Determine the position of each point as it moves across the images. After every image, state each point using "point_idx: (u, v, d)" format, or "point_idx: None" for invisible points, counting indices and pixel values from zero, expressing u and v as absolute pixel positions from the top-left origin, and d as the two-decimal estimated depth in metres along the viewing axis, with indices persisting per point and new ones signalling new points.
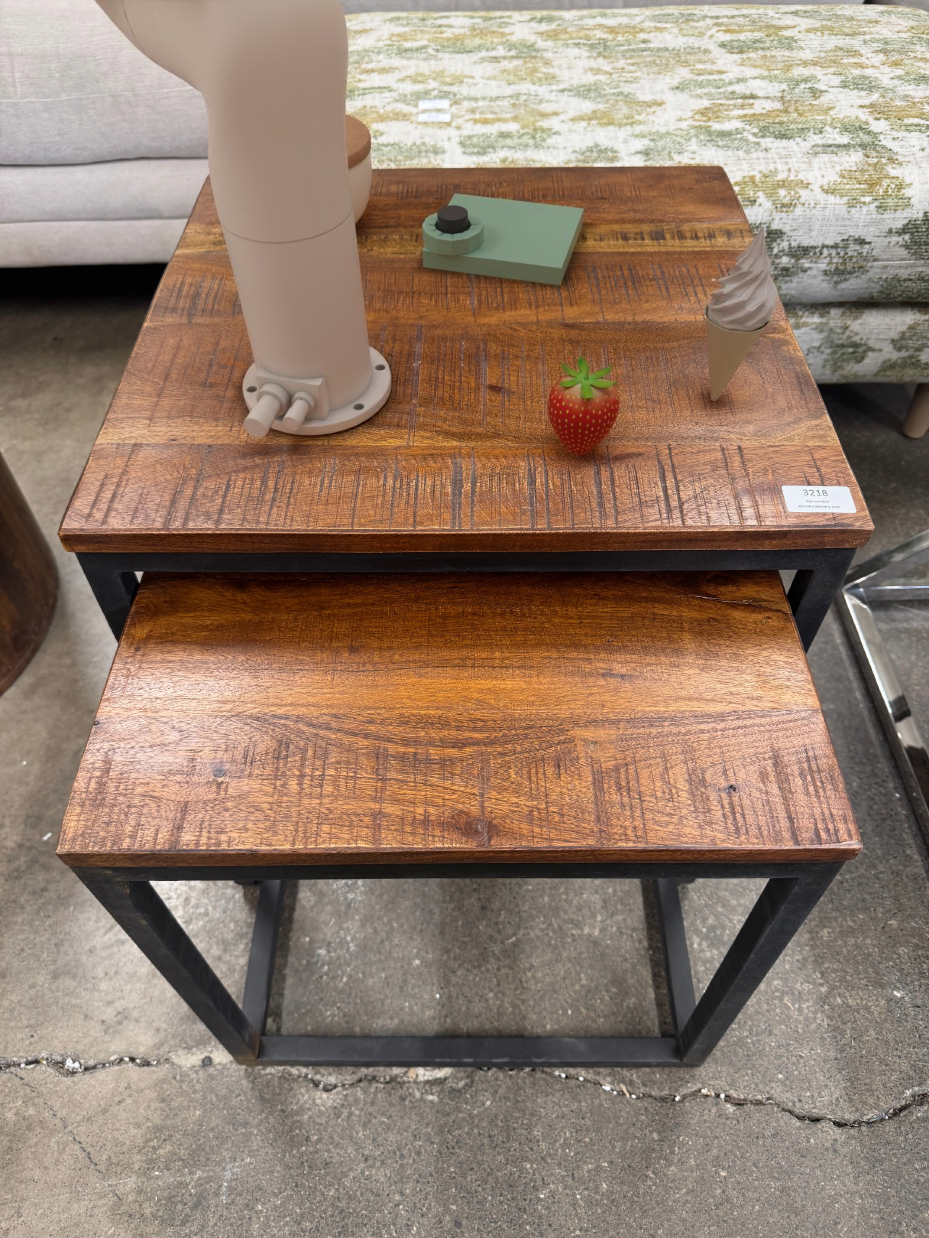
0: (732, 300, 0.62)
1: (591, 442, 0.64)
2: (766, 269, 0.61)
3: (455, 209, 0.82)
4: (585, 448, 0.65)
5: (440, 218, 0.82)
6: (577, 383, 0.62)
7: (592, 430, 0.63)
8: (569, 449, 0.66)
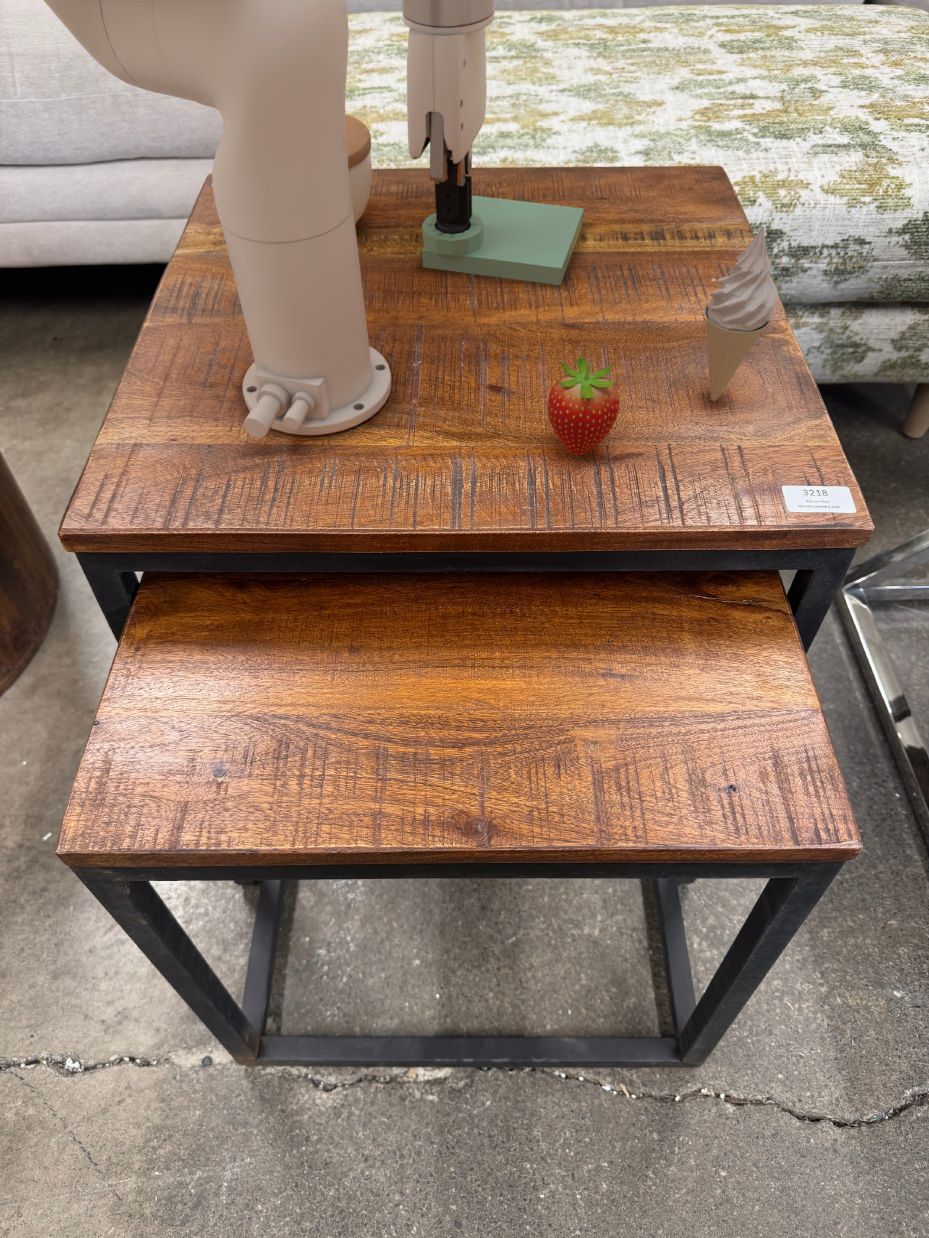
0: (732, 300, 0.62)
1: (591, 442, 0.64)
2: (766, 269, 0.61)
3: None
4: (585, 448, 0.65)
5: (440, 227, 0.82)
6: (577, 383, 0.62)
7: (592, 430, 0.63)
8: (569, 449, 0.66)
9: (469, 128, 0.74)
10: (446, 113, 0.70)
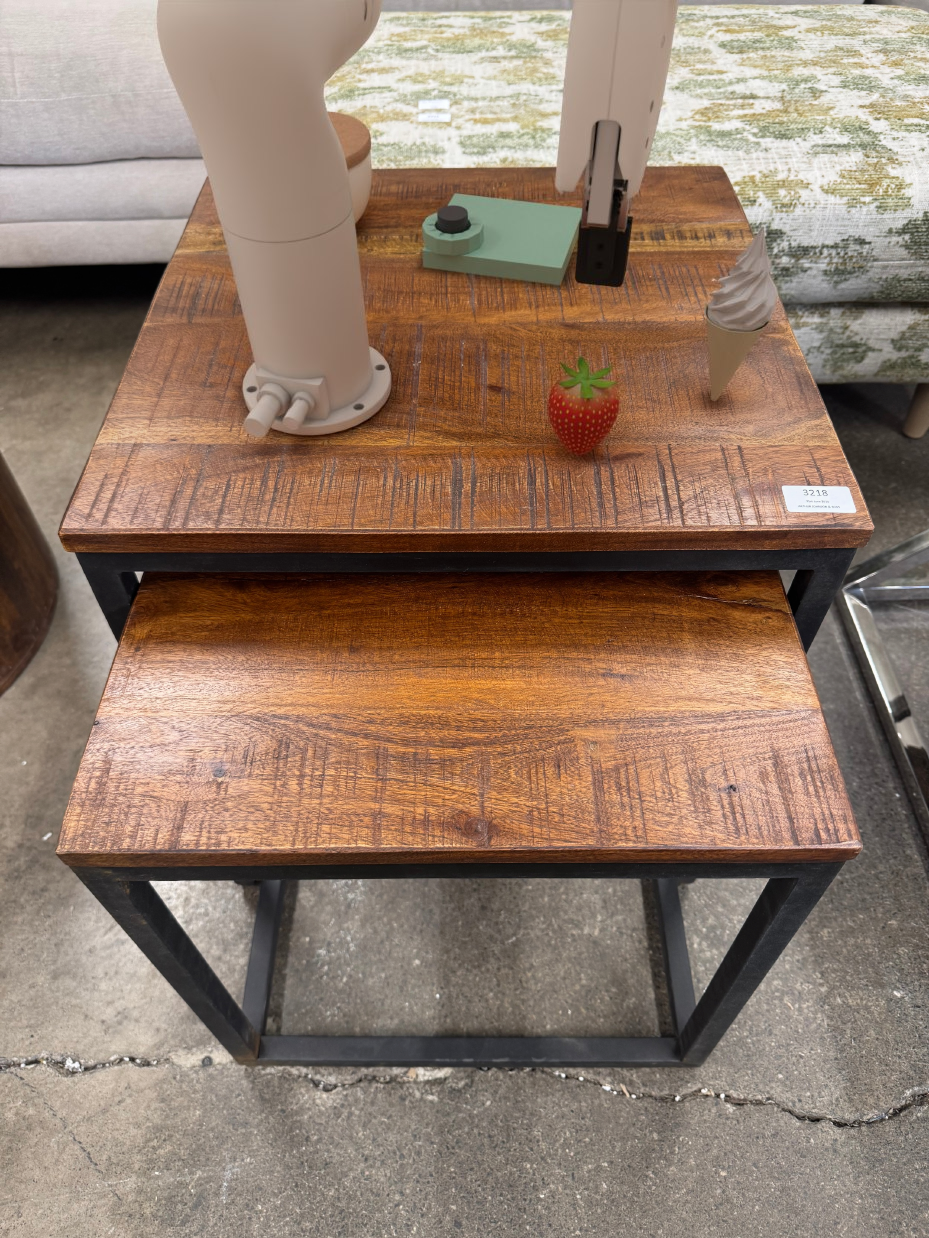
0: (732, 300, 0.62)
1: (591, 442, 0.64)
2: (766, 269, 0.61)
3: (455, 209, 0.82)
4: (585, 448, 0.65)
5: (440, 218, 0.82)
6: (577, 383, 0.62)
7: (592, 430, 0.63)
8: (569, 449, 0.66)
9: (650, 145, 0.47)
10: (627, 122, 0.44)
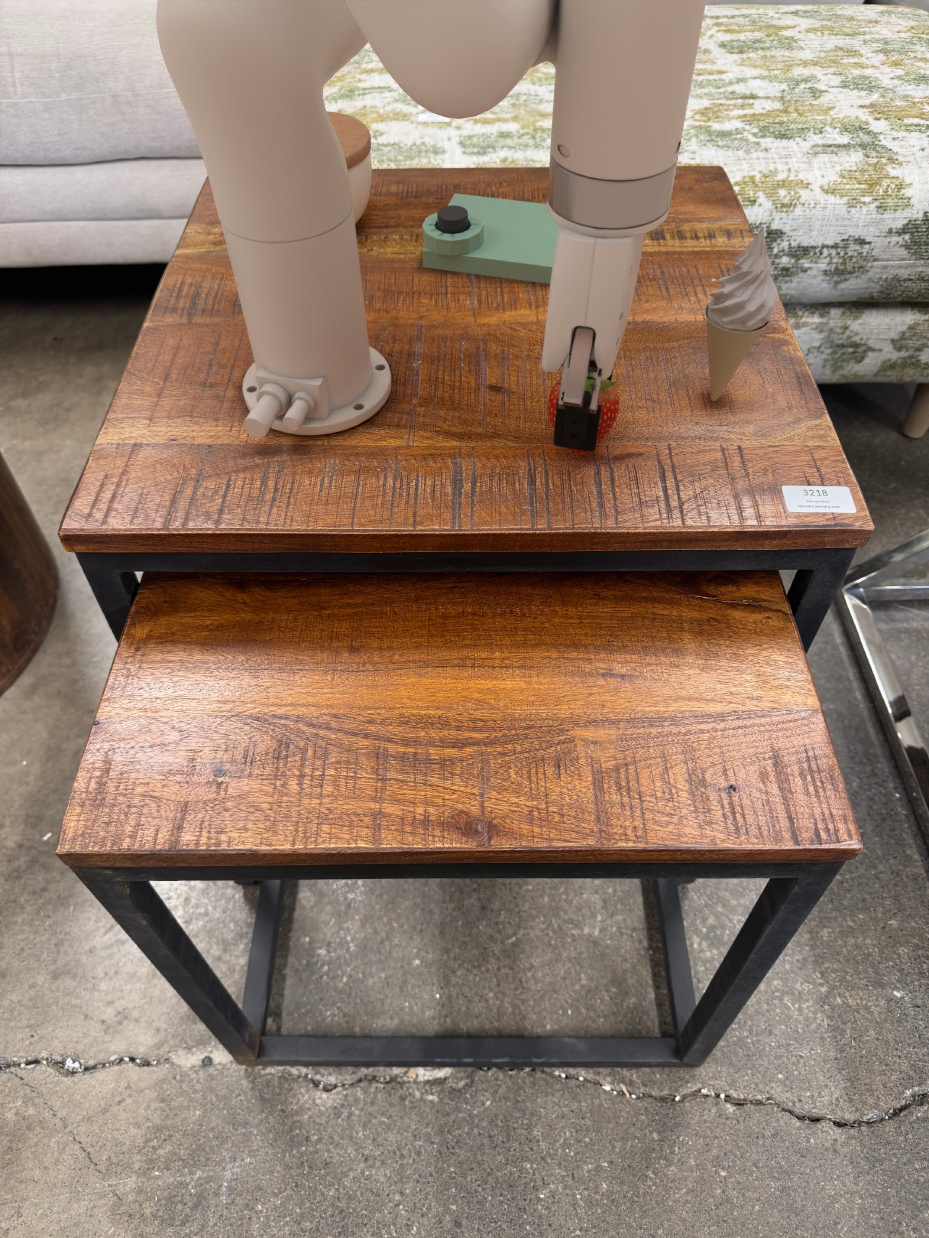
0: (732, 300, 0.62)
1: None
2: (766, 269, 0.61)
3: (455, 209, 0.82)
4: None
5: (440, 218, 0.82)
6: None
7: None
8: (569, 449, 0.66)
9: (622, 337, 0.57)
10: (601, 328, 0.53)
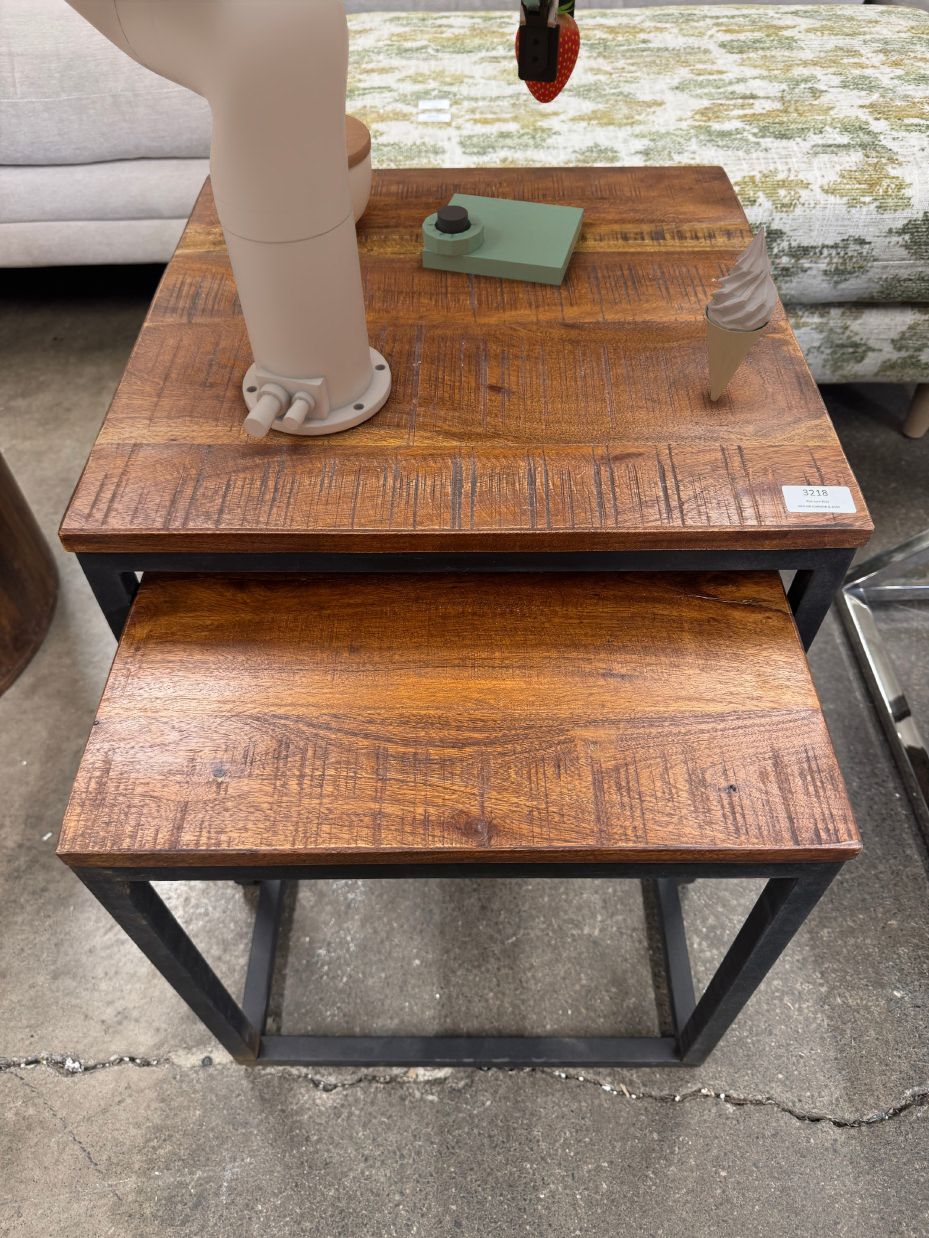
0: (732, 300, 0.62)
1: None
2: (766, 269, 0.61)
3: (455, 209, 0.82)
4: (549, 89, 0.71)
5: (440, 218, 0.82)
6: None
7: None
8: (535, 93, 0.72)
9: None
10: None
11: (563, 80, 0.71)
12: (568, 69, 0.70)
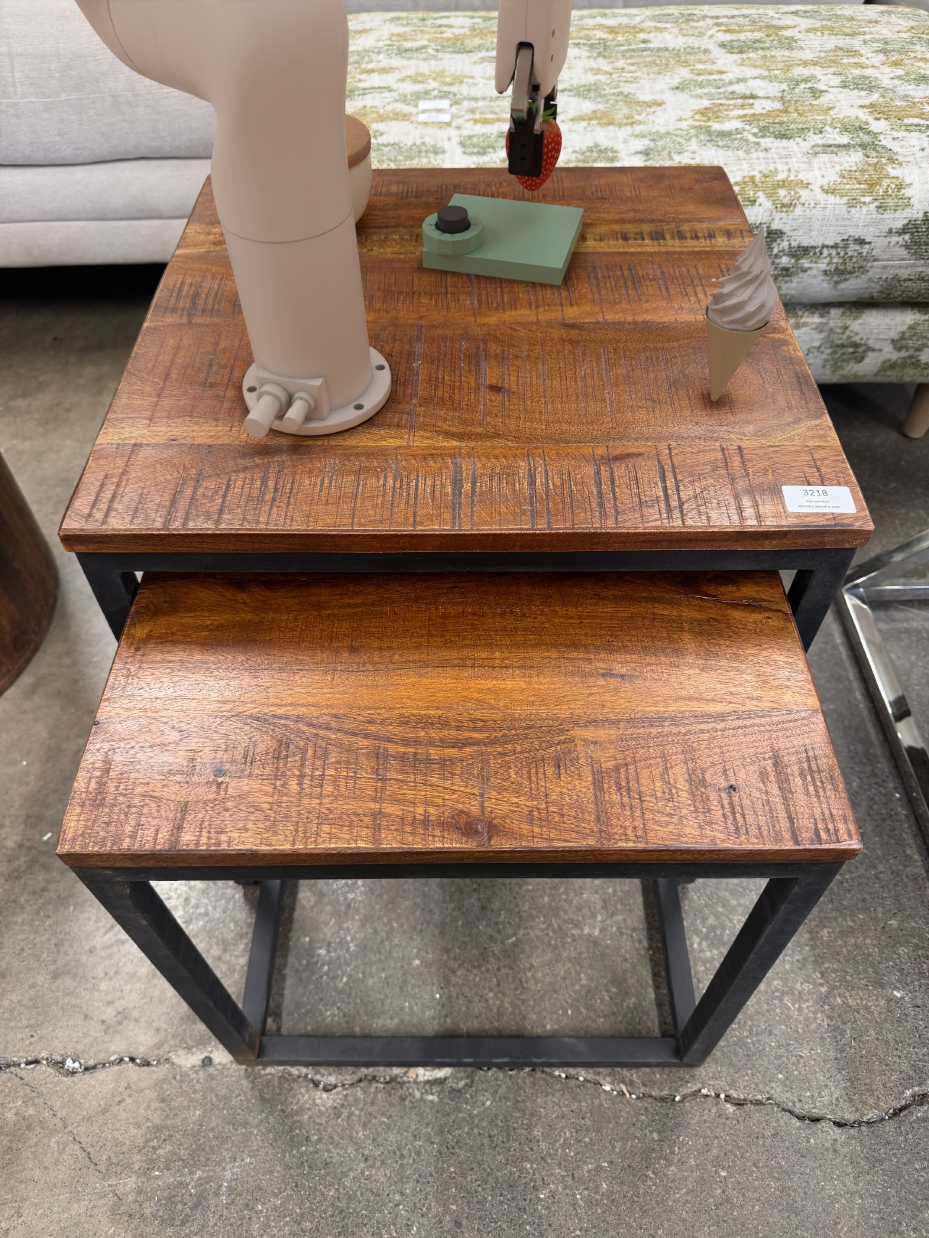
0: (732, 300, 0.62)
1: None
2: (766, 269, 0.61)
3: (455, 209, 0.82)
4: (536, 181, 0.81)
5: (440, 218, 0.82)
6: None
7: None
8: (523, 184, 0.82)
9: (557, 62, 0.73)
10: (537, 43, 0.69)
11: (547, 173, 0.81)
12: (552, 164, 0.80)
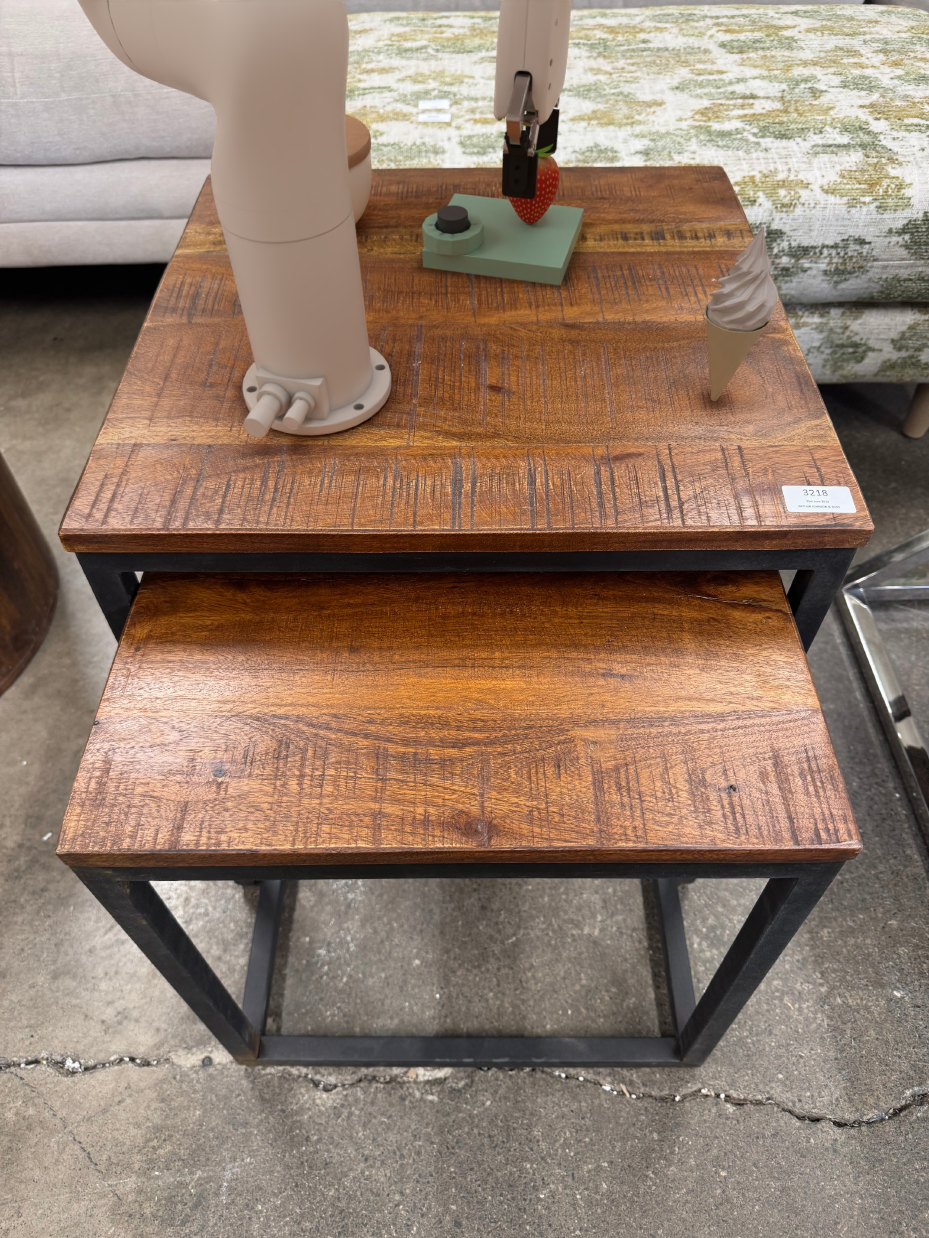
0: (732, 300, 0.62)
1: (538, 207, 0.83)
2: (766, 269, 0.61)
3: (455, 209, 0.82)
4: (534, 214, 0.84)
5: (440, 218, 0.82)
6: None
7: (538, 194, 0.82)
8: (522, 217, 0.85)
9: (554, 90, 0.74)
10: (535, 72, 0.71)
11: (545, 207, 0.84)
12: (549, 199, 0.83)
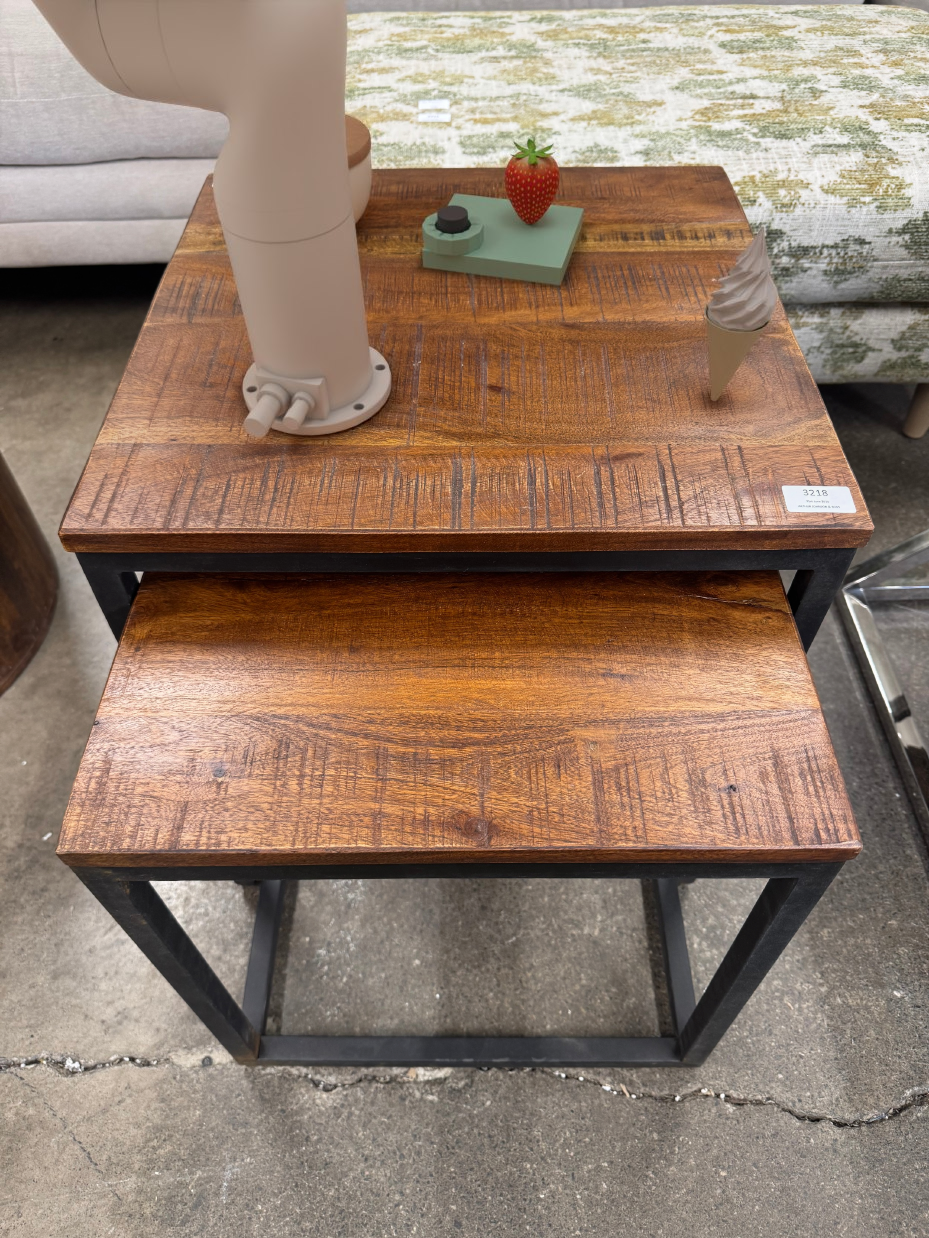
0: (732, 300, 0.62)
1: (538, 207, 0.83)
2: (766, 269, 0.61)
3: (455, 209, 0.82)
4: (534, 214, 0.84)
5: (440, 218, 0.82)
6: (526, 155, 0.81)
7: (538, 194, 0.82)
8: (522, 217, 0.85)
9: None
10: None
11: (545, 207, 0.84)
12: (549, 199, 0.83)
